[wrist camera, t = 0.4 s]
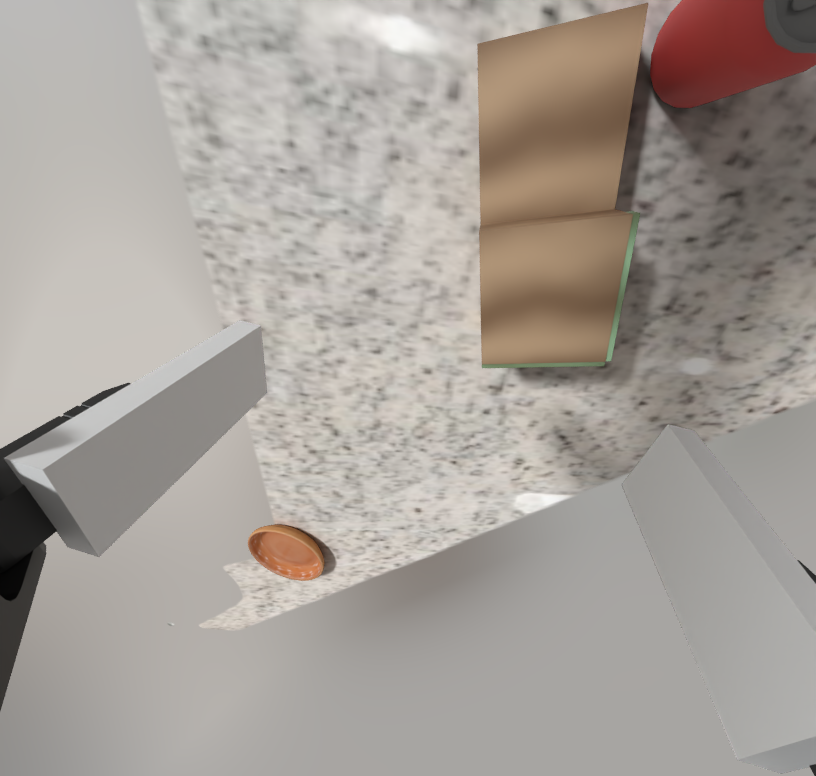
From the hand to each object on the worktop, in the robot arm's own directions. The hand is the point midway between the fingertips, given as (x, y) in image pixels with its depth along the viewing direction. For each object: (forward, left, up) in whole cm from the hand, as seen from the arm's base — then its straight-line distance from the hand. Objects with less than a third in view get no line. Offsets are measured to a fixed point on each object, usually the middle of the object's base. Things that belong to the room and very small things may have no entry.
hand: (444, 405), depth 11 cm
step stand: (-3, +6, -26) cm, 27 cm away
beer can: (-12, +16, -27) cm, 33 cm away
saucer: (+53, -38, -27) cm, 71 cm away
